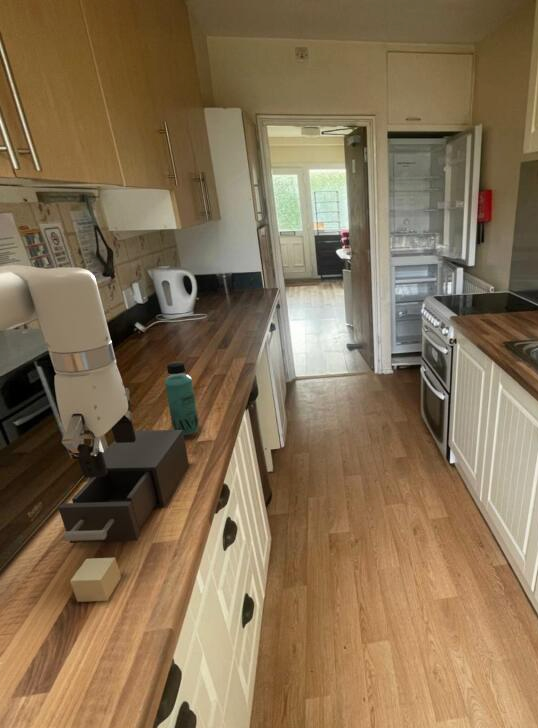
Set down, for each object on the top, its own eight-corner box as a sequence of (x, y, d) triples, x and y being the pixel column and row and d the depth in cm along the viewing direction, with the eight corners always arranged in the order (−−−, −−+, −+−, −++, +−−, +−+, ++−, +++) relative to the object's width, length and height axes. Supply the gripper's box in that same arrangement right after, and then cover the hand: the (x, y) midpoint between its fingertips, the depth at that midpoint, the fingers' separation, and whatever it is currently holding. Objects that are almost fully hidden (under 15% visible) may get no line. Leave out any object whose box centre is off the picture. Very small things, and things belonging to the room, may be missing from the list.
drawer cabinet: (164, 507, 86) (155, 467, 82) (98, 509, 85) (86, 468, 81) (189, 465, 99) (182, 429, 96) (133, 467, 98) (124, 430, 95)
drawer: (125, 559, 72) (115, 523, 69) (54, 562, 71) (41, 525, 68) (166, 493, 89) (160, 461, 86) (109, 494, 88) (100, 462, 85)
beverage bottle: (168, 438, 110) (154, 366, 102) (185, 426, 116) (172, 357, 108) (190, 442, 109) (177, 369, 101) (206, 430, 115) (195, 360, 107)
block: (77, 602, 66) (69, 581, 64) (93, 578, 70) (86, 558, 68) (107, 600, 66) (100, 579, 64) (121, 577, 70) (115, 557, 68)
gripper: (88, 339, 69) (113, 431, 76) (14, 380, 53) (54, 492, 60) (137, 338, 70) (157, 430, 77) (78, 379, 54) (110, 490, 61)
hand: (112, 457), depth 68 cm, fingers open, 9 cm apart
